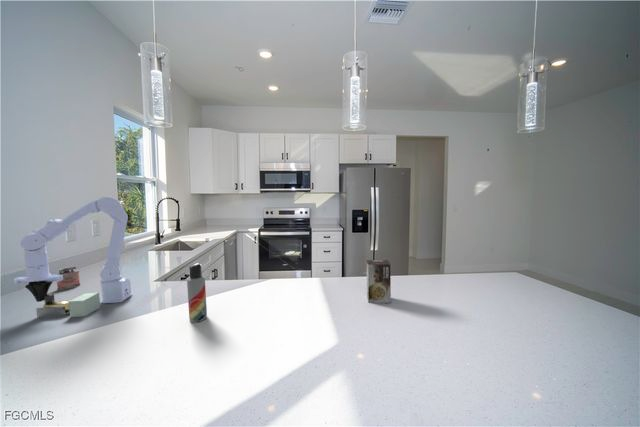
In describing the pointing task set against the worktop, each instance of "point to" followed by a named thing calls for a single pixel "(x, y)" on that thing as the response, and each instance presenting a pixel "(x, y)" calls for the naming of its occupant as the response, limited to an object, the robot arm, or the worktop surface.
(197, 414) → the worktop surface
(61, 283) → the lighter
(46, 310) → the grey u channel
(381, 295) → the coffee box
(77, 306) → the socket
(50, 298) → the sliding bolt
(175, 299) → the worktop surface
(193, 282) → the lotion bottle
